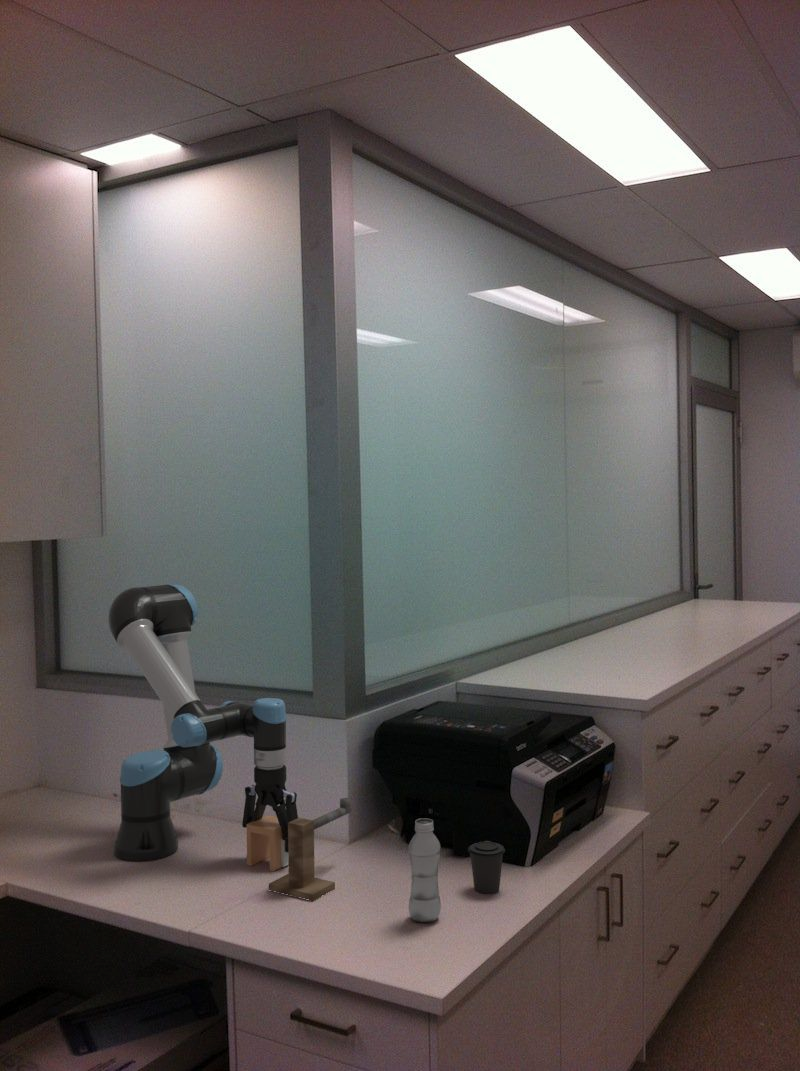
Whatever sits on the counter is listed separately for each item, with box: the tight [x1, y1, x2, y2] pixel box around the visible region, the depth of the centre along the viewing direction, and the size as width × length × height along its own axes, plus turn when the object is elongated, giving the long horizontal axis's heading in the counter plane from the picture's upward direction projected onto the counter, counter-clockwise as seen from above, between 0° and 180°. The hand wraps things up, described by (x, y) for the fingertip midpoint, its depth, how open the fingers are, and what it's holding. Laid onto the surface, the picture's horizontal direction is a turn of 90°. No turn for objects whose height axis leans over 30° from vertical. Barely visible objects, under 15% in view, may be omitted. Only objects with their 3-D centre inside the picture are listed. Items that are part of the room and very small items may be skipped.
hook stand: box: [268, 797, 352, 902], centre depth 223 cm, size 12×22×16 cm, turn 149°
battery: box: [452, 833, 471, 857], centre depth 240 cm, size 4×7×10 cm, turn 155°
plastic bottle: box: [408, 817, 442, 923], centre depth 201 cm, size 6×7×20 cm
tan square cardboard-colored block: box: [246, 814, 284, 872], centre depth 233 cm, size 8×8×10 cm
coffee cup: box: [468, 840, 506, 896], centre depth 216 cm, size 8×8×10 cm
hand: (271, 861), depth 233 cm, fingers closed on tan square cardboard-colored block, 8 cm apart
